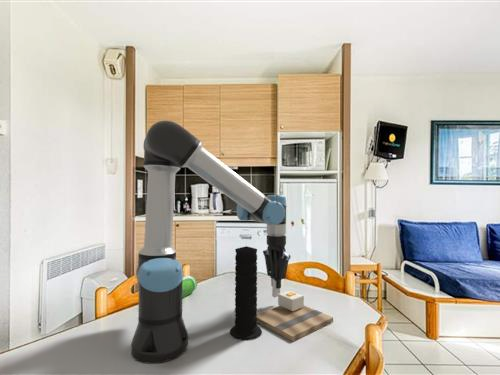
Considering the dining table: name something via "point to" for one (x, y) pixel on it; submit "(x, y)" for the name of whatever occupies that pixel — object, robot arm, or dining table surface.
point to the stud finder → (290, 300)
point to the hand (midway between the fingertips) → (276, 295)
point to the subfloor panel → (293, 321)
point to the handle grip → (246, 295)
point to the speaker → (188, 285)
